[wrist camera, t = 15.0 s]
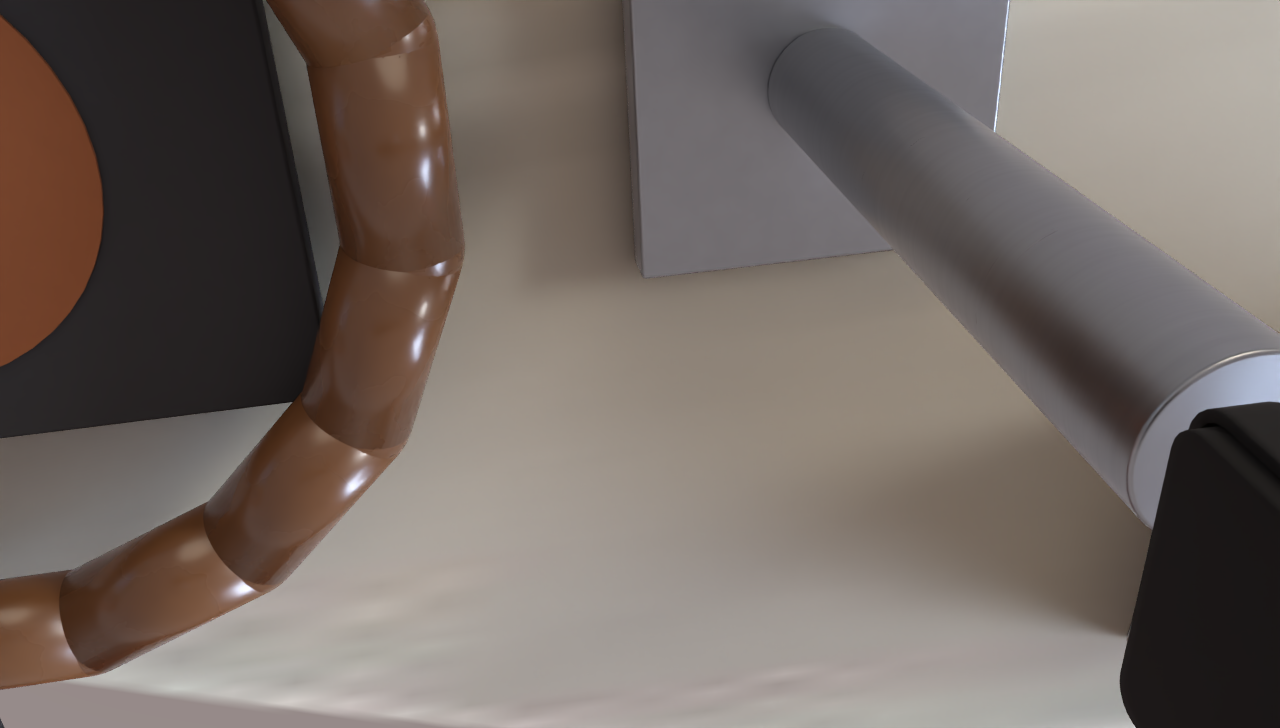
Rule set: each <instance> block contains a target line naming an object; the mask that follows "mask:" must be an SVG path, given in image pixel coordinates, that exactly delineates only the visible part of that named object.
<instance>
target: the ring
mask: <svg viewBox="0 0 1280 728" xmlns="http://www.w3.org/2000/svg"><path fill="white" fill-rule="evenodd" d="M266 1H267V3H268V4H269V6H270V7H271V9H272V10H273V12H274V14H275V15H276V17H277V18H278V20H279V21H280V23H281V25H282V26H283V28H284V29H285V31H286V32H287V34H288V35H289V37H290V39H291V40H292V42H293V43H294V45H295V46H296V48H297V50H298V51H299V53H300V54H301V56H302V57H303V59H304V61H305V62H306V65H307V71H308V76H309V81H310V86H311V92H312V97H313V102H314V108H315V113H316V118H317V124H318V129H319V134H320V140H321V145H322V150H323V156H324V161H325V166H326V171H327V177H328V182H329V187H330V193H331V198H332V203H333V209H334V214H335V219H336V225H337V230H338V235H339V241H340V246H339V250H338V254H337V258H336V262H335V266H334V270H333V274H332V277H331V281H330V285H329V289H328V293H327V297H326V301H325V305H324V308H323V312H322V316H321V320H320V324H319V328H318V332H317V336H316V340H315V343H314V347H313V351H312V355H311V359H310V363H309V367H308V371H307V375H306V378H305V382H304V386H303V390H302V392H301V393H300V394H299V396H298V397H297V398H296V399H295V400H294V401H293V403H292V404H291V405H290V406H289V407H288V409H287V410H286V411H285V412H284V413H283V414H282V416H281V417H280V418H279V419H278V420H277V422H276V423H275V424H274V425H273V426H272V427H271V429H270V430H269V431H268V432H267V433H266V434H265V436H264V437H263V438H262V439H261V440H260V442H259V443H258V444H257V445H256V446H255V447H254V449H253V450H252V451H251V452H250V453H249V455H248V456H247V457H246V458H245V459H244V460H243V462H242V463H241V464H240V465H239V466H238V468H237V469H236V470H235V471H234V472H233V473H232V475H231V476H230V477H229V478H228V479H227V481H226V482H225V483H224V484H223V485H222V486H221V488H220V489H219V490H218V491H217V492H216V494H215V495H214V496H213V497H212V498H211V499H210V501H208V502H206V503H204V504H202V505H200V506H198V507H196V508H194V509H192V510H190V511H188V512H186V513H184V514H182V515H180V516H178V517H176V518H174V519H172V520H170V521H168V522H166V523H165V524H163V525H161V526H159V527H157V528H155V529H153V530H151V531H149V532H147V533H145V534H143V535H141V536H139V537H137V538H135V539H133V540H131V541H129V542H127V543H125V544H123V545H121V546H119V547H117V548H115V549H113V550H111V551H109V552H107V553H105V554H103V555H101V556H99V557H97V558H95V559H93V560H91V561H89V562H87V563H85V564H83V565H81V566H79V567H77V568H75V569H73V570H66V571H58V572H51V573H44V574H37V575H30V576H23V577H15V578H8V579H1V580H0V690H3V689H10V688H16V687H23V686H30V685H36V684H43V683H49V682H56V681H63V680H69V679H76V678H83V677H89V676H95V675H99V674H103V673H106V672H108V671H111V670H113V669H115V668H117V667H119V666H121V665H123V664H125V663H127V662H129V661H131V660H133V659H135V658H137V657H139V656H141V655H143V654H145V653H147V652H149V651H151V650H153V649H155V648H157V647H159V646H161V645H163V644H165V643H167V642H169V641H171V640H173V639H175V638H177V637H179V636H181V635H183V634H185V633H187V632H189V631H191V630H193V629H195V628H197V627H199V626H201V625H203V624H205V623H207V622H209V621H211V620H213V619H215V618H217V617H219V616H221V615H224V614H226V613H228V612H230V611H232V610H234V609H236V608H238V607H240V606H242V605H244V604H246V603H248V602H250V601H252V600H254V599H256V598H258V597H260V596H262V595H264V594H266V593H268V592H270V591H271V590H273V589H275V588H276V587H278V586H279V585H280V584H282V583H283V582H284V581H285V580H286V579H287V578H288V577H289V576H290V575H291V574H292V573H293V571H294V570H295V569H296V568H297V567H298V566H299V565H300V564H301V562H302V561H303V560H304V559H305V558H306V557H307V556H308V555H309V554H310V552H311V551H312V550H313V549H314V548H315V547H316V546H317V545H318V544H319V542H320V541H321V540H322V539H323V538H324V537H325V536H326V535H327V533H328V532H329V531H330V530H331V529H332V528H333V527H334V526H335V525H336V523H337V522H338V521H339V520H340V519H341V518H342V517H343V516H344V515H345V513H346V512H347V511H348V510H349V509H350V508H351V507H352V506H353V504H354V503H355V502H356V501H357V500H358V499H359V498H360V497H361V496H362V494H363V493H364V492H365V491H366V490H367V489H368V488H369V487H370V486H371V484H372V483H373V482H374V481H375V480H376V479H377V478H378V477H379V475H380V474H381V473H382V472H383V471H384V470H385V469H386V468H387V467H388V465H389V464H390V463H391V462H392V461H393V460H394V459H395V458H396V457H397V455H398V454H399V453H400V452H401V450H402V449H403V448H404V446H405V444H406V443H407V441H408V438H409V436H410V434H411V431H412V428H413V424H414V421H415V418H416V415H417V411H418V408H419V405H420V402H421V398H422V395H423V392H424V389H425V385H426V382H427V379H428V376H429V373H430V369H431V366H432V363H433V360H434V356H435V353H436V350H437V347H438V343H439V340H440V337H441V334H442V330H443V327H444V324H445V321H446V317H447V314H448V311H449V308H450V304H451V301H452V298H453V295H454V292H455V288H456V285H457V282H458V279H459V275H460V272H461V269H462V266H463V260H464V254H465V239H464V232H463V224H462V216H461V209H460V201H459V193H458V186H457V178H456V170H455V163H454V155H453V147H452V140H451V132H450V124H449V117H448V109H447V101H446V94H445V86H444V78H443V71H442V63H441V55H440V47H439V40H438V34H437V29H436V25H435V22H434V20H433V17H432V15H431V13H430V11H429V8H428V7H427V5H426V3H425V1H424V0H266Z"/></svg>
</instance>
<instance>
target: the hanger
mask: <svg viewBox="0 0 1280 728" xmlns="http://www.w3.org/2000/svg"><path fill="white" fill-rule="evenodd" d="M622 2H623V22H624V42H625V63H626V83H627V103H628V123H629V143H630V163H631V184H632V204H633V224H634V244H635V261H636V263H637V265H638V268H639V270H640V273H641V275H642V277H643V278H655V277H664V276H672V275H681V274H690V273H698V272H707V271H716V270H724V269H733V268H742V267H750V266H759V265H768V264H776V263H785V262H794V261H802V260H811V259H820V258H828V257H837V256H846V255H854V254H863V253H872V252H880V251H889V250H894V251H895V252H896V253H897V254H898V255H899V256H900V257H901V258H902V259H903V261H904V262H905V263H906V264H907V265H908V266H909V267H910V268H911V269H912V270H913V272H914V273H915V274H916V275H917V276H918V277H919V278H920V279H921V280H922V281H923V283H924V284H925V285H926V286H927V287H928V288H929V289H930V290H931V291H932V292H933V293H934V295H935V296H936V297H937V298H938V299H939V300H940V301H941V302H942V303H943V304H944V306H945V307H946V308H947V309H948V310H949V311H950V312H951V313H952V314H953V315H954V316H955V318H956V319H957V320H958V321H959V322H960V323H961V324H962V325H963V326H964V327H965V329H966V330H967V331H968V332H969V333H970V334H971V335H972V336H973V337H974V338H975V339H976V341H977V342H978V343H979V344H980V345H981V346H982V347H983V348H984V349H985V350H986V352H987V353H988V354H989V355H990V356H991V357H992V358H993V359H994V360H995V361H996V363H997V364H998V365H999V366H1000V367H1001V368H1002V369H1003V370H1004V371H1005V372H1006V373H1007V375H1008V376H1009V377H1010V378H1011V379H1012V380H1013V381H1014V382H1015V383H1016V384H1017V386H1018V387H1019V388H1020V389H1021V390H1022V391H1023V392H1024V393H1025V394H1026V395H1027V396H1028V398H1029V399H1030V400H1031V401H1032V402H1033V403H1034V404H1035V405H1036V406H1037V407H1038V409H1039V410H1040V411H1041V412H1042V413H1043V414H1044V415H1045V416H1046V417H1047V418H1048V419H1049V421H1050V422H1051V423H1052V424H1053V425H1054V426H1055V427H1056V428H1057V429H1058V430H1059V432H1060V433H1061V434H1062V435H1063V436H1064V437H1065V438H1066V439H1067V440H1068V441H1069V442H1070V444H1071V445H1072V446H1073V447H1074V448H1075V449H1076V450H1077V451H1078V452H1079V453H1080V455H1081V456H1082V457H1083V458H1084V459H1085V460H1086V461H1087V462H1088V463H1089V464H1090V466H1091V467H1092V468H1093V469H1094V470H1095V471H1096V472H1097V473H1098V474H1099V475H1100V476H1101V478H1102V479H1103V480H1104V481H1105V482H1106V483H1107V484H1108V485H1109V486H1110V487H1111V489H1112V490H1113V491H1114V492H1115V493H1116V494H1117V495H1118V496H1119V497H1120V498H1121V499H1122V501H1123V502H1124V503H1125V504H1126V505H1127V506H1128V507H1129V508H1130V509H1131V510H1132V512H1133V513H1134V514H1135V515H1136V516H1137V517H1138V518H1139V519H1140V520H1141V521H1142V522H1143V523H1144V524H1145V525H1146V526H1148V527H1149V528H1150V529H1152V530H1153V526H1154V521H1155V517H1156V512H1157V508H1158V503H1159V499H1160V494H1161V490H1162V486H1163V481H1164V477H1165V472H1166V468H1167V463H1168V459H1169V454H1170V450H1171V446H1172V444H1173V441H1174V439H1175V437H1176V436H1177V435H1178V434H1179V433H1180V432H1182V431H1185V430H1188V429H1189V426H1190V424H1191V421H1192V420H1193V419H1194V418H1195V416H1196V415H1197V414H1198V413H1199V412H1202V411H1204V410H1206V409H1212V408H1220V407H1228V406H1236V405H1244V404H1252V403H1260V402H1268V401H1271V402H1279V403H1280V334H1279V333H1278V332H1276V331H1275V330H1273V329H1272V328H1271V327H1269V326H1268V325H1266V324H1265V323H1264V322H1262V321H1261V320H1259V319H1258V318H1257V317H1255V316H1254V315H1252V314H1251V313H1249V312H1248V311H1247V310H1245V309H1244V308H1242V307H1241V306H1240V305H1238V304H1237V303H1235V302H1234V301H1233V300H1231V299H1230V298H1228V297H1227V296H1225V295H1224V294H1223V293H1221V292H1220V291H1218V290H1217V289H1216V288H1214V287H1213V286H1211V285H1210V284H1209V283H1207V282H1206V281H1204V280H1203V279H1201V278H1200V277H1199V276H1197V275H1196V274H1194V273H1193V272H1192V271H1190V270H1189V269H1187V268H1186V267H1185V266H1183V265H1182V264H1180V263H1179V262H1177V261H1176V260H1175V259H1173V258H1172V257H1170V256H1169V255H1168V254H1166V253H1165V252H1163V251H1162V250H1161V249H1159V248H1158V247H1156V246H1155V245H1153V244H1152V243H1151V242H1149V241H1148V240H1146V239H1145V238H1144V237H1142V236H1141V235H1139V234H1138V233H1137V232H1135V231H1134V230H1132V229H1131V228H1129V227H1128V226H1127V225H1125V224H1124V223H1122V222H1121V221H1120V220H1118V219H1117V218H1115V217H1114V216H1113V215H1111V214H1110V213H1108V212H1107V211H1105V210H1104V209H1103V208H1101V207H1100V206H1098V205H1097V204H1096V203H1094V202H1093V201H1091V200H1090V199H1089V198H1087V197H1086V196H1084V195H1083V194H1081V193H1080V192H1079V191H1077V190H1076V189H1074V188H1073V187H1072V186H1070V185H1069V184H1067V183H1066V182H1065V181H1063V180H1062V179H1060V178H1059V177H1057V176H1056V175H1055V174H1053V173H1052V172H1050V171H1049V170H1048V169H1046V168H1045V167H1043V166H1042V165H1041V164H1039V163H1038V162H1036V161H1035V160H1033V159H1032V158H1031V157H1029V156H1028V155H1026V154H1025V153H1024V152H1022V151H1021V150H1019V149H1018V148H1017V147H1015V146H1014V145H1012V144H1011V143H1009V142H1008V141H1007V140H1005V139H1004V138H1002V137H1001V136H1000V135H998V134H997V133H995V132H996V123H997V114H998V105H999V96H1000V87H1001V78H1002V69H1003V60H1004V51H1005V42H1006V33H1007V24H1008V15H1009V6H1010V0H622Z"/></svg>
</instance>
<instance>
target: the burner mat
mask: <svg viewBox="0 0 1280 728" xmlns="http://www.w3.org/2000/svg"><path fill="white" fill-rule="evenodd" d="M322 312H323V303H322V298H321V293H320V287H319V282H318V277H317V272H316V267H315V262H314V257H313V252H312V247H311V242H310V237H309V232H308V227H307V222H306V217H305V212H304V207H303V202H302V197H301V192H300V187H299V182H298V177H297V172H296V167H295V162H294V157H293V152H292V147H291V142H290V137H289V132H288V127H287V122H286V117H285V112H284V107H283V102H282V97H281V92H280V87H279V82H278V77H277V72H276V67H275V62H274V57H273V52H272V46H271V41H270V36H269V31H268V26H267V21H266V16H265V11H264V6H263V1H262V0H0V438H7V437H15V436H23V435H31V434H39V433H47V432H55V431H63V430H71V429H79V428H87V427H95V426H103V425H111V424H119V423H127V422H135V421H143V420H151V419H160V418H168V417H176V416H184V415H192V414H200V413H208V412H216V411H224V410H232V409H240V408H248V407H256V406H264V405H272V404H280V403H288V402H293V401H294V400H295V399H296V398H297V397H298V396H299V394H300V393H301V392H302V390H303V386H304V382H305V378H306V375H307V371H308V367H309V363H310V359H311V355H312V351H313V347H314V343H315V340H316V336H317V332H318V328H319V324H320V320H321V316H322Z"/></svg>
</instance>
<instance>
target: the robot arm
mask: <svg viewBox="0 0 1280 728" xmlns="http://www.w3.org/2000/svg"><path fill="white" fill-rule="evenodd" d="M1120 690H1121V695H1122V700H1123V703H1124V706H1125V709H1126V711H1127V714H1128V715H1129V717H1130V719H1131V721H1132V723H1133V724H1134V725H1135V727H1136V728H1280V403H1279V402H1271V401H1268V402H1260V403H1252V404H1244V405H1236V406H1228V407H1220V408H1212V409H1206V410H1204V411H1202V412H1199V413H1198V414H1197V415H1196V416H1195V418H1194V419H1193V420H1192V421H1191V424H1190V426H1189V429H1188V430H1185V431H1182V432H1180V433H1179V434H1178V435H1177V436H1176V437H1175V439H1174V441H1173V444H1172V446H1171V450H1170V454H1169V459H1168V463H1167V468H1166V472H1165V477H1164V481H1163V486H1162V490H1161V494H1160V499H1159V503H1158V508H1157V512H1156V517H1155V521H1154V526H1153V530H1152V535H1151V539H1150V543H1149V548H1148V552H1147V557H1146V561H1145V566H1144V570H1143V575H1142V579H1141V584H1140V588H1139V592H1138V597H1137V601H1136V606H1135V610H1134V615H1133V619H1132V624H1131V628H1130V633H1129V637H1128V641H1127V646H1126V650H1125V655H1124V659H1123V664H1122V668H1121V673H1120ZM0 728H4V726H3V724H2V722H1V719H0Z"/></svg>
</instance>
